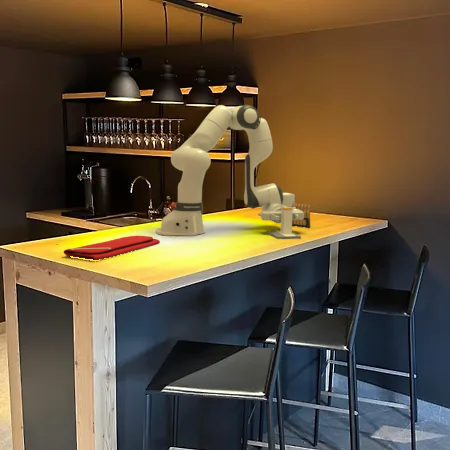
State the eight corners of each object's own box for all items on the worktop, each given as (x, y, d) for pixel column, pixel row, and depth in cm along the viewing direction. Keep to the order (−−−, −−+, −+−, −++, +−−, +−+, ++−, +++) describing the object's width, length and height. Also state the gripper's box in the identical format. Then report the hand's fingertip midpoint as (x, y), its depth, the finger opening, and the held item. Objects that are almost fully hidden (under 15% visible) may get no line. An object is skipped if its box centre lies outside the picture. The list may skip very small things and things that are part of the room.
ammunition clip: (289, 225, 290) (290, 202, 288) (291, 225, 292) (292, 202, 290) (308, 228, 284) (309, 204, 282) (310, 227, 286) (311, 203, 284)
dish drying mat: (160, 244, 238) (160, 235, 238) (96, 263, 202) (96, 253, 202) (130, 240, 245) (130, 232, 245) (62, 258, 209) (62, 248, 209)
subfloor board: (277, 238, 253) (277, 236, 253) (267, 233, 268) (267, 230, 267) (300, 238, 256) (300, 236, 255) (289, 232, 270) (289, 230, 270)
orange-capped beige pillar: (283, 234, 259) (284, 208, 257) (280, 232, 263) (281, 206, 261) (291, 234, 260) (292, 208, 258) (288, 232, 264) (289, 206, 262)
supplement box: (294, 222, 302) (295, 194, 300) (279, 223, 299) (280, 194, 296) (286, 219, 310) (287, 192, 308) (271, 220, 307) (272, 192, 305)
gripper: (257, 207, 270) (265, 211, 257) (298, 206, 274) (308, 210, 261) (256, 220, 271) (265, 225, 258) (297, 219, 275) (307, 224, 262)
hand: (287, 217), depth 259 cm, fingers open, 8 cm apart
